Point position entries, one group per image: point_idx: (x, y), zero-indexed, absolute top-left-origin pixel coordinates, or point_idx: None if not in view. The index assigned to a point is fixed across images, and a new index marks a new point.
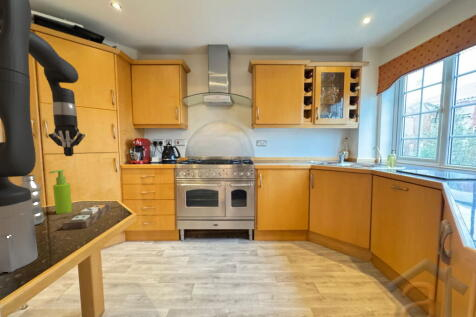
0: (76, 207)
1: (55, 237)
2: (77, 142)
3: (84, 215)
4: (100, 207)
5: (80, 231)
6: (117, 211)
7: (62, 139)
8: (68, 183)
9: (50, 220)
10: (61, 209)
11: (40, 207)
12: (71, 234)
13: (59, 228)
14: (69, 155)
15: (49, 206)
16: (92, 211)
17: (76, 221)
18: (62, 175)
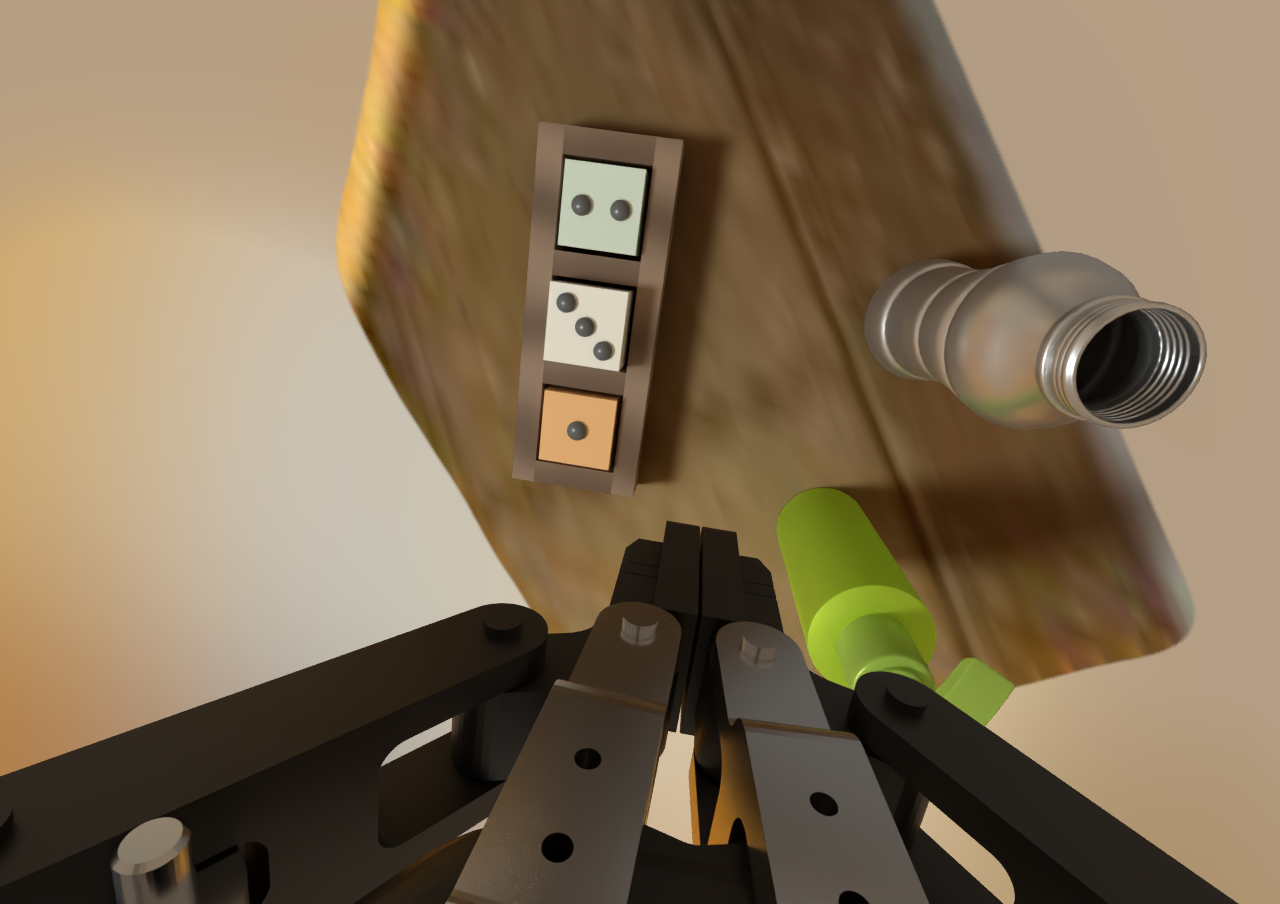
0: None
1: (676, 16)
2: (434, 782)
3: (589, 240)
4: (546, 400)
5: (564, 75)
6: (465, 403)
7: (797, 766)
8: (822, 664)
9: (839, 369)
10: (824, 498)
11: (899, 330)
12: (599, 37)
13: (717, 182)
14: (666, 527)
15: None
16: (551, 281)
17: (604, 146)
18: None
